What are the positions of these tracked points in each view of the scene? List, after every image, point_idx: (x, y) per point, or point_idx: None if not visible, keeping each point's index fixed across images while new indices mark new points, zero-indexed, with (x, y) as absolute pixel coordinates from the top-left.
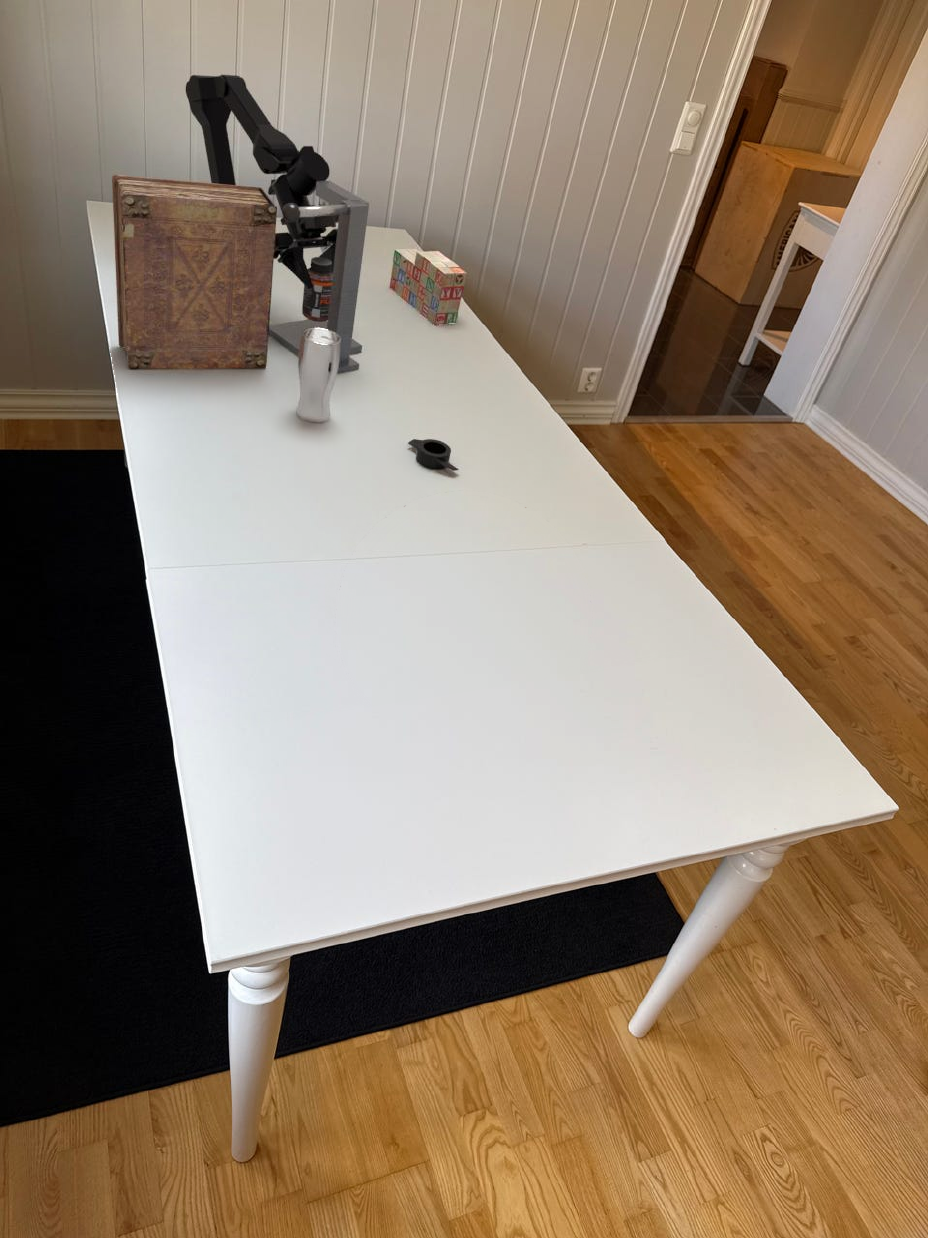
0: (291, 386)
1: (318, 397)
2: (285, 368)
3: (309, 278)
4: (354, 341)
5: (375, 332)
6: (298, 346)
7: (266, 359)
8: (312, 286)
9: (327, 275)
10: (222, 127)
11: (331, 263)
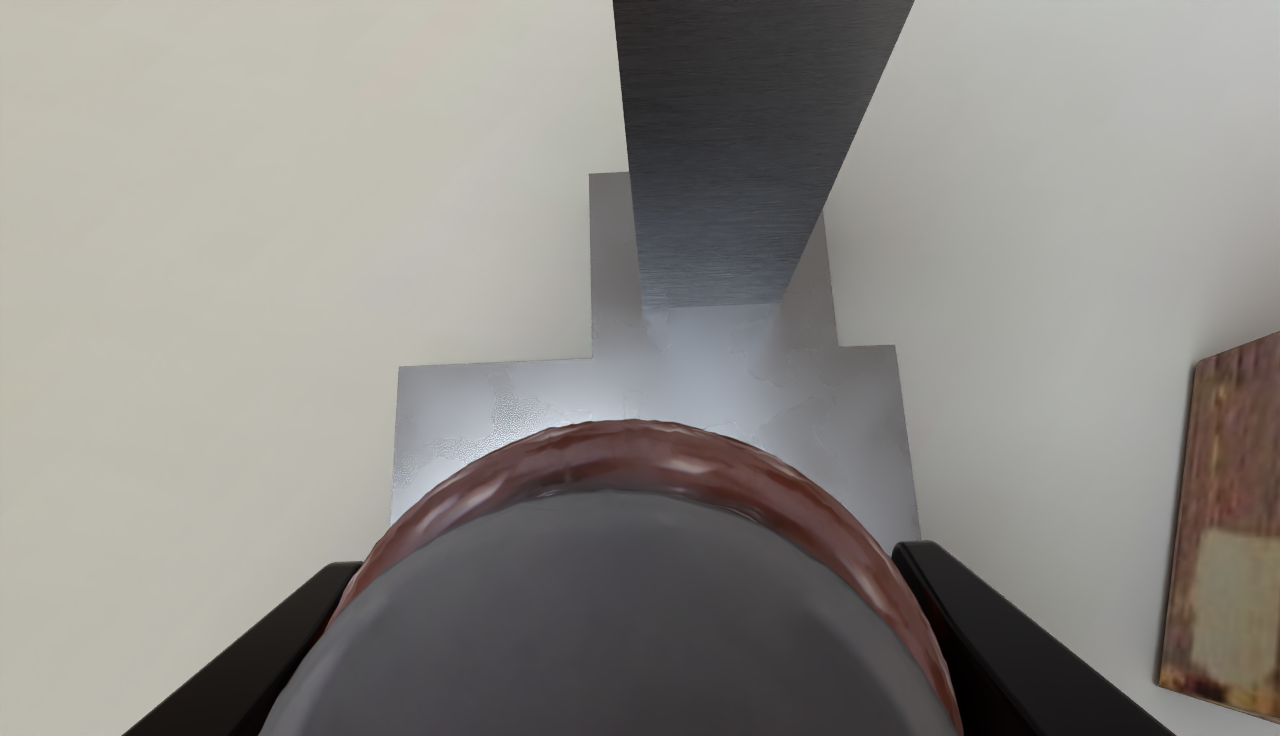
0: (1117, 138)
1: None
2: (1054, 334)
3: (990, 623)
4: (408, 440)
5: (77, 627)
6: (881, 489)
7: (1241, 345)
8: (897, 543)
9: (609, 488)
10: None
11: (357, 598)
